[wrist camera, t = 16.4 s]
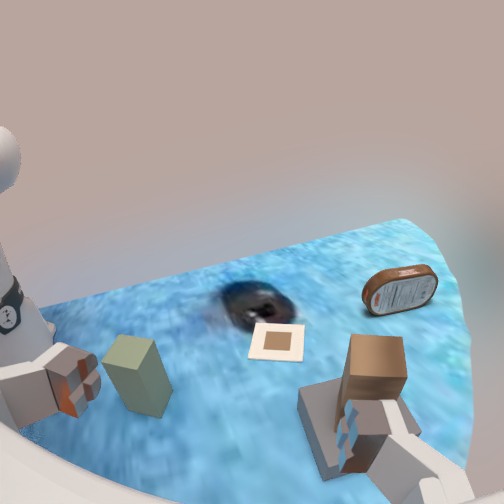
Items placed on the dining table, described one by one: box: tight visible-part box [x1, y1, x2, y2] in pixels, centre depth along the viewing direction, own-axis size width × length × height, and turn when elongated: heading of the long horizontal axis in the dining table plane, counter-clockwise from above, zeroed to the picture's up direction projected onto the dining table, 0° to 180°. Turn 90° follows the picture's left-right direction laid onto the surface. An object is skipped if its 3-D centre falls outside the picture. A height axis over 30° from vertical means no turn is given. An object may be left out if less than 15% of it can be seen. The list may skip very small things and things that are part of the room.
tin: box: [362, 264, 438, 316], centre depth 49 cm, size 15×3×8 cm, turn 96°
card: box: [248, 323, 305, 362], centre depth 47 cm, size 8×8×1 cm
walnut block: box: [334, 334, 407, 433], centre depth 27 cm, size 5×5×10 cm
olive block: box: [101, 334, 173, 418], centre depth 35 cm, size 5×5×10 cm
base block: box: [297, 377, 422, 481], centre depth 31 cm, size 11×11×5 cm
